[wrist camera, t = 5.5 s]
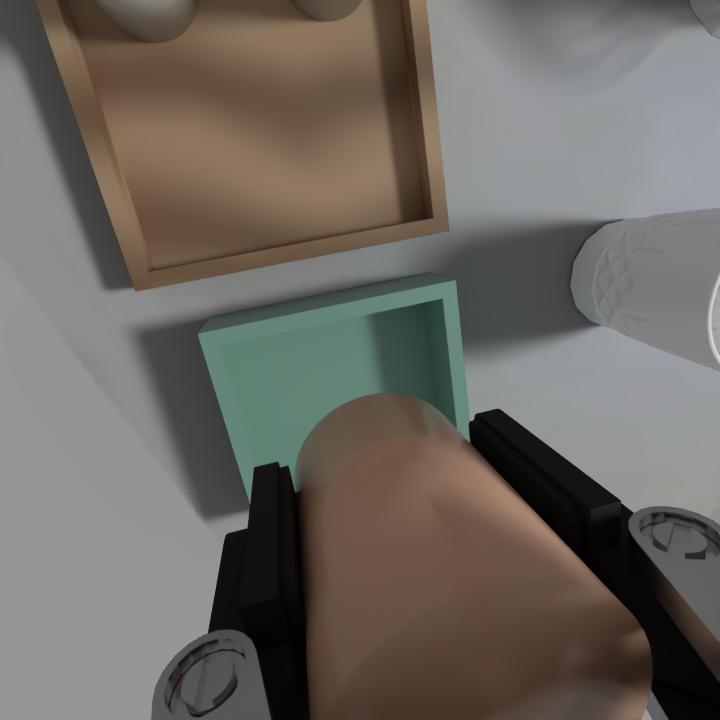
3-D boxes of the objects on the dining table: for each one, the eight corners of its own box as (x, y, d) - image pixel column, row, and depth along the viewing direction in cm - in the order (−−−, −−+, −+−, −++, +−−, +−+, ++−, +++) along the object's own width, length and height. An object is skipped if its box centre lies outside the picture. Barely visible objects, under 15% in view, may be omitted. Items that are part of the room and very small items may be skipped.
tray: (16, -106, 18) (-16, -145, 16) (395, -137, 20) (408, -175, 18) (147, 286, 23) (135, 291, 21) (436, 230, 25) (449, 230, 23)
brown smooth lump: (276, 415, 10) (275, 650, 4) (454, 375, 11) (661, 536, 5) (312, 565, 11) (348, 898, 6) (468, 523, 12) (645, 785, 6)
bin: (210, 317, 24) (197, 333, 20) (429, 272, 26) (455, 280, 22) (265, 507, 28) (263, 550, 24) (451, 458, 30) (476, 492, 26)
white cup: (563, 345, 29) (703, 401, 19) (556, 225, 26) (713, 223, 17) (667, 316, 30) (848, 357, 20) (670, 197, 27) (879, 180, 18)
